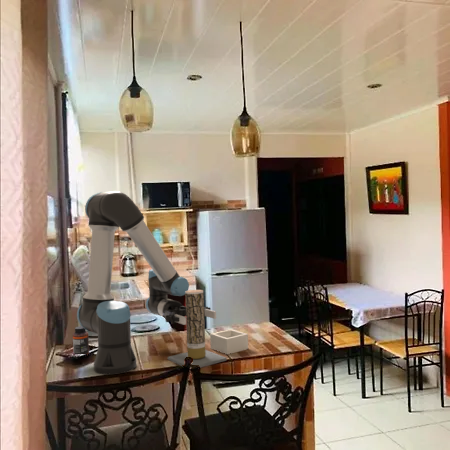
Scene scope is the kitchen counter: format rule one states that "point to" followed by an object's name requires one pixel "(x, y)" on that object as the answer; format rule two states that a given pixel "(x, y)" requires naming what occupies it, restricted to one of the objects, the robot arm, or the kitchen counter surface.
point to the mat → (207, 360)
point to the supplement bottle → (80, 341)
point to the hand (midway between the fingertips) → (200, 318)
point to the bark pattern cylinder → (195, 323)
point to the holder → (229, 341)
